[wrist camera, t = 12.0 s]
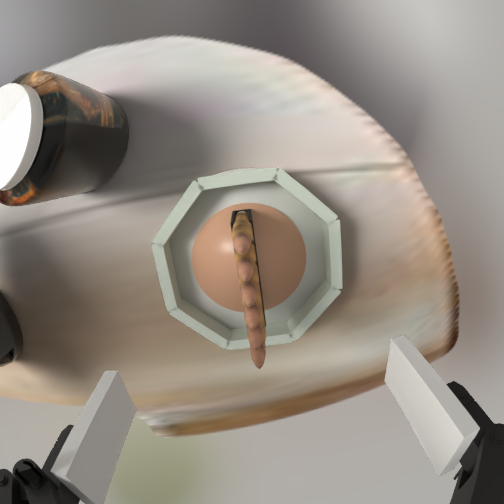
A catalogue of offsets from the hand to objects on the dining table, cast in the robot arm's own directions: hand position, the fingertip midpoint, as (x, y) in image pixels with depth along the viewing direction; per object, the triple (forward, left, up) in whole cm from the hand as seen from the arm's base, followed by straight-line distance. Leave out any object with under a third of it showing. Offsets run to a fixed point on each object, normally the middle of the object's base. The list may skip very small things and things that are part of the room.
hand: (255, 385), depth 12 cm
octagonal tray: (0, 0, -20) cm, 21 cm away
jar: (-17, +16, -21) cm, 31 cm away
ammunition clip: (0, 0, -19) cm, 19 cm away
